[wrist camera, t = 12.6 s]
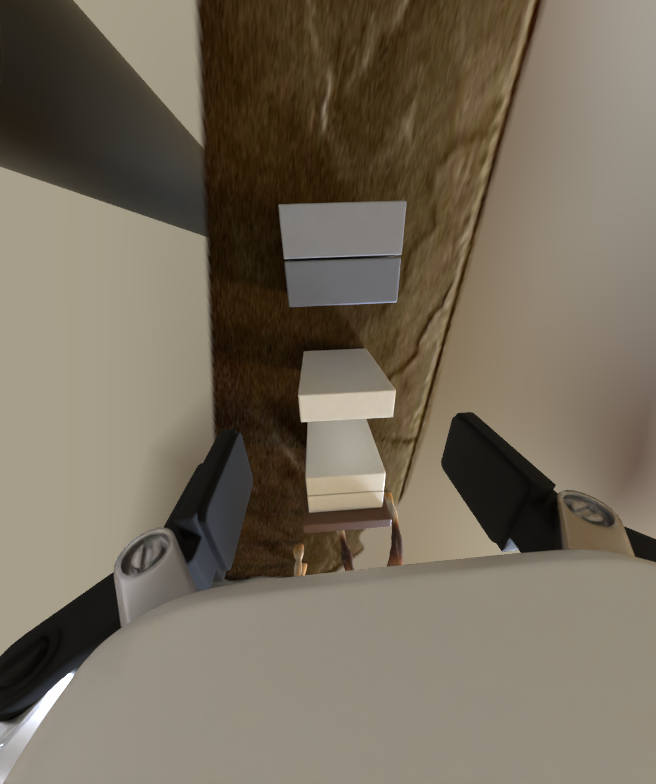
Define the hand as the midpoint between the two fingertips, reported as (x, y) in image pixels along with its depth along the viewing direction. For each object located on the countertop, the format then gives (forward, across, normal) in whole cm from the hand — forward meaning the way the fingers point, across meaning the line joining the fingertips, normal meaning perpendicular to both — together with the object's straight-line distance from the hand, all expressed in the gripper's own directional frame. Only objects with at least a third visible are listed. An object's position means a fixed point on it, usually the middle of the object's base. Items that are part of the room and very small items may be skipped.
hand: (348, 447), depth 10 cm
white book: (+13, -1, +1) cm, 13 cm away
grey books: (+14, -1, -7) cm, 15 cm away
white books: (+13, -1, +9) cm, 16 cm away
